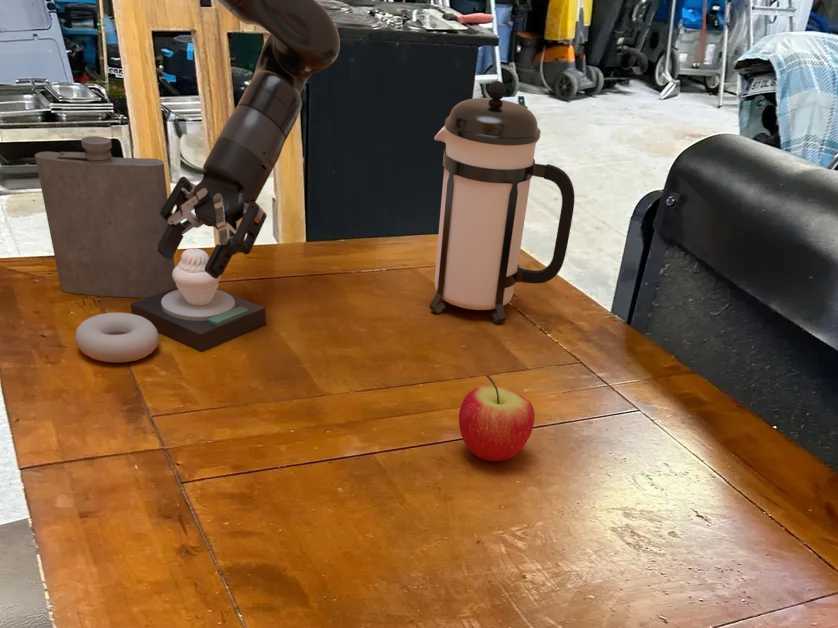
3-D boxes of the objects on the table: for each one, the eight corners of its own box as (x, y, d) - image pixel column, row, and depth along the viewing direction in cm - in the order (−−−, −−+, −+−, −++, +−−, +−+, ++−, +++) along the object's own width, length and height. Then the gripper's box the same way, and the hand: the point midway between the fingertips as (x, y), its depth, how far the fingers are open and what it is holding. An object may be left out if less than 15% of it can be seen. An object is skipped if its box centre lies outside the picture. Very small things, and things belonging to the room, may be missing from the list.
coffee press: (458, 335, 126) (484, 98, 106) (405, 292, 136) (420, 68, 116) (557, 319, 133) (598, 96, 114) (500, 279, 143) (529, 67, 123)
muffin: (227, 307, 118) (223, 255, 114) (181, 312, 116) (175, 258, 111) (215, 289, 122) (211, 238, 118) (170, 293, 120) (164, 241, 115)
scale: (132, 320, 119) (129, 299, 117) (199, 296, 127) (197, 275, 125) (201, 351, 114) (199, 329, 113) (266, 324, 122) (265, 303, 120)
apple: (451, 434, 105) (460, 355, 98) (521, 436, 106) (535, 359, 99) (458, 472, 99) (468, 391, 92) (532, 474, 100) (547, 394, 93)
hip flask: (179, 288, 129) (162, 138, 115) (175, 300, 126) (158, 147, 112) (63, 283, 126) (33, 129, 113) (57, 295, 123) (26, 138, 110)
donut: (153, 330, 118) (73, 335, 114) (150, 305, 116) (68, 309, 112) (166, 364, 111) (82, 370, 108) (164, 338, 109) (77, 344, 105)
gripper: (188, 122, 114) (129, 234, 114) (271, 149, 109) (209, 265, 109) (221, 160, 121) (166, 264, 121) (300, 186, 116) (242, 296, 115)
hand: (186, 265), depth 115 cm, fingers open, 8 cm apart
